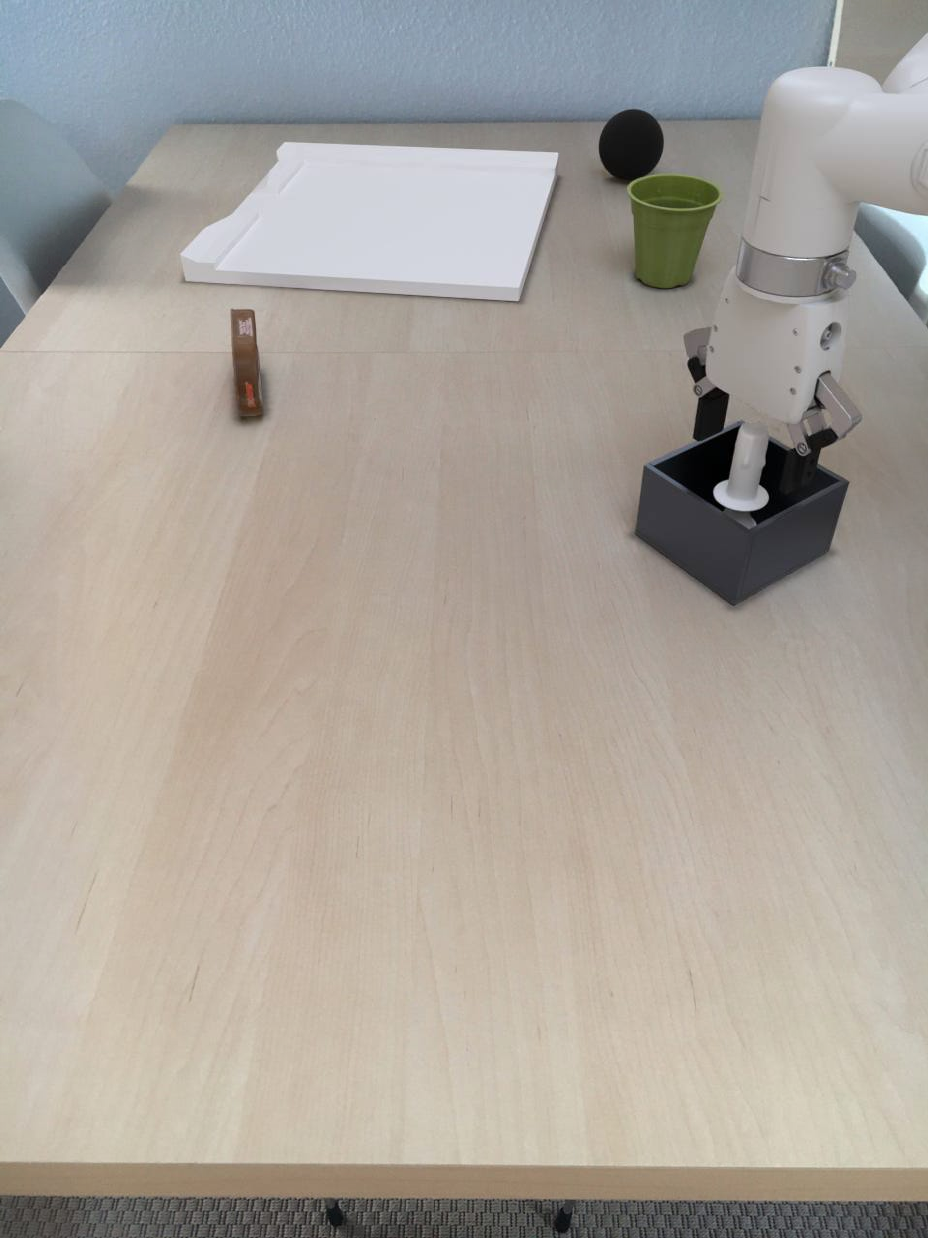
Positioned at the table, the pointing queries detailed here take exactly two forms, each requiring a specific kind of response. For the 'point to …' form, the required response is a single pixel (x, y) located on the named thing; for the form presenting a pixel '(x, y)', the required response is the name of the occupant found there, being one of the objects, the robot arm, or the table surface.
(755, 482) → the candle
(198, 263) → the tray
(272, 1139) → the table surface
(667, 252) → the plant pot
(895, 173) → the robot arm
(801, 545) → the bin
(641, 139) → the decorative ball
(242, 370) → the brown thin box
